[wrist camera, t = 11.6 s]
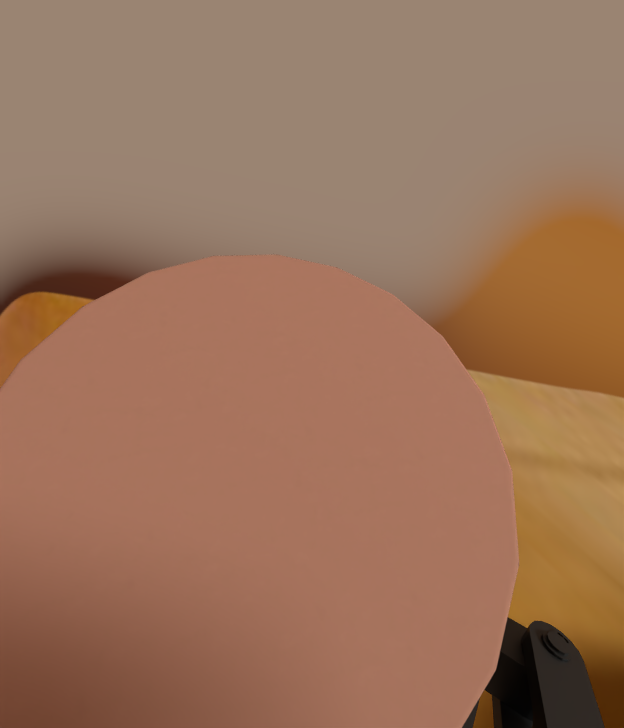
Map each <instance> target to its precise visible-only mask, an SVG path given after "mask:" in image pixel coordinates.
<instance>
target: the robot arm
mask: <svg viewBox="0 0 624 728" xmlns="http://www.w3.org/2000/svg"><path fill="white" fill-rule="evenodd" d="M484 690H486V691H487V692H489V693H490V694H492V701H493V718H494V728H605V727H604V724H603V721H602V718H601V715H600V711H599V708H598V705H597V702H596V699H595V696H594V692H593V689H592V686H591V683H590V680H589V677H588V673H587V670H586V667H585V664H584V661H583V659H582V657H581V655H580V653H579V651H578V650H577V648H576V647H575V646H574V645H573V643H572V642H571V641H570V640H569V639H568V638H567V637H566V636H565V635H564V634H563V633H562V632H561V631H559V630H558V629H556V628H555V627H553V626H552V625H550V624H548V623H545V622H543V621H534V622H532V623H531V624H530V625H529V627H528V628H526V627H524V626H522V625H520V624H519V623H517V622H515V621H514V620H512V619H510V618H508V617H507V622H506V626H505V631H504V636H503V640H502V645H501V649H500V654H499V658H498V663H497V668H496V671H495V672H494V674H493V676H492V677H491V679H490V681H489V683H488V684H487V686H486V688H485V689H484ZM479 699H480V698H479ZM479 699H478V701H477V703H476V705H475V706H474V708H473V710H472V711H471V713H470V715H469V716H468V718H467V720H466V721H465V723H464V725H463V727H462V728H473V724H474V720H475V715H476V711H477V707H478V703H479Z"/></svg>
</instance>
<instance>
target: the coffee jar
mask: <svg viewBox="0 0 624 728" xmlns="http://www.w3.org/2000/svg"><path fill="white" fill-rule="evenodd" d="M518 567H519V555H518V542H517V529H516V516H515V503H514V490H513V477H512V469H511V466H510V464H509V461H508V458H507V456H506V453H505V450H504V447H503V445H502V442H501V439H500V437H499V434H498V431H497V428H496V426H495V423H494V420H493V417H492V415H491V412H490V409H489V407H488V404H487V401H486V398H485V396H484V394H483V392H482V391H481V390H480V388H479V387H478V385H477V384H476V383H475V381H474V380H473V378H472V377H471V376H470V374H469V373H468V371H467V370H466V369H465V367H464V366H463V364H462V363H461V361H460V360H459V359H458V357H457V356H456V354H455V353H454V352H453V350H452V349H451V347H450V346H449V345H448V343H447V342H446V340H445V339H444V338H443V336H442V335H440V334H439V333H438V332H437V331H436V330H434V329H433V328H432V327H431V326H430V325H428V324H427V323H426V322H425V321H424V320H422V319H421V318H420V317H419V316H418V315H416V314H415V313H414V312H413V311H412V310H410V309H409V308H408V307H407V306H406V305H405V304H403V303H402V302H401V301H400V300H399V299H397V298H396V297H395V296H394V295H392V294H391V293H388V292H386V291H384V290H382V289H380V288H378V287H376V286H374V285H372V284H370V283H368V282H366V281H364V280H362V279H360V278H357V277H355V276H353V275H351V274H349V273H347V272H345V271H343V270H341V269H339V268H337V267H332V266H327V265H323V264H318V263H313V262H309V261H304V260H299V259H294V258H290V257H285V256H281V255H239V256H238V255H237V256H211V257H208V258H204V259H200V260H196V261H192V262H188V263H184V264H180V265H176V266H173V267H168V268H164V269H161V270H157V271H153V272H149V273H147V274H145V275H143V276H141V277H139V278H137V279H135V280H133V281H131V282H129V283H127V284H125V285H124V286H122V287H120V288H118V289H116V290H114V291H112V292H110V293H108V294H106V295H104V296H102V297H100V298H98V299H96V300H94V301H93V302H91V303H89V304H87V305H85V306H83V307H82V308H81V309H79V310H78V311H77V312H76V313H75V314H74V315H72V316H71V317H70V318H69V319H68V320H67V321H65V322H64V323H63V324H62V325H61V326H60V327H58V328H57V329H56V330H55V331H54V332H53V333H52V334H50V335H49V336H48V337H47V338H46V339H45V340H43V341H42V342H41V343H40V344H39V345H38V346H36V347H35V348H34V349H33V350H32V351H31V352H29V353H28V354H27V355H26V356H25V357H24V358H22V359H21V360H20V362H19V363H18V364H17V366H16V367H15V369H14V370H13V372H12V373H11V374H10V376H9V377H8V379H7V380H6V381H5V383H4V384H3V386H2V387H1V389H0V728H462V727H463V725H464V723H465V721H466V720H467V718H468V716H469V715H470V713H471V711H472V710H473V708H474V706H475V705H476V703H477V701H478V699H479V698H480V696H481V694H482V693H483V691H484V689H485V688H486V686H487V684H488V683H489V681H490V679H491V677H492V676H493V674H494V672H495V671H496V668H497V663H498V658H499V654H500V649H501V645H502V640H503V636H504V631H505V626H506V622H507V617H508V613H509V608H510V603H511V599H512V594H513V590H514V585H515V581H516V576H517V571H518Z"/></svg>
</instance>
